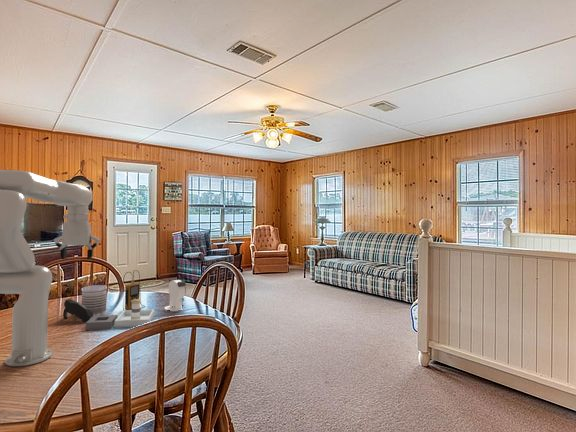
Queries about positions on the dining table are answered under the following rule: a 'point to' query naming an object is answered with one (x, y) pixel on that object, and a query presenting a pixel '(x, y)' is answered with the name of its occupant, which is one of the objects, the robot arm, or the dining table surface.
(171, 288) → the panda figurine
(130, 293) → the multimeter
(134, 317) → the cylinder
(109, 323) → the grey flat square block
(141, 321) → the parts tray
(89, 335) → the dining table surface
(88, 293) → the can
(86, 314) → the gun
